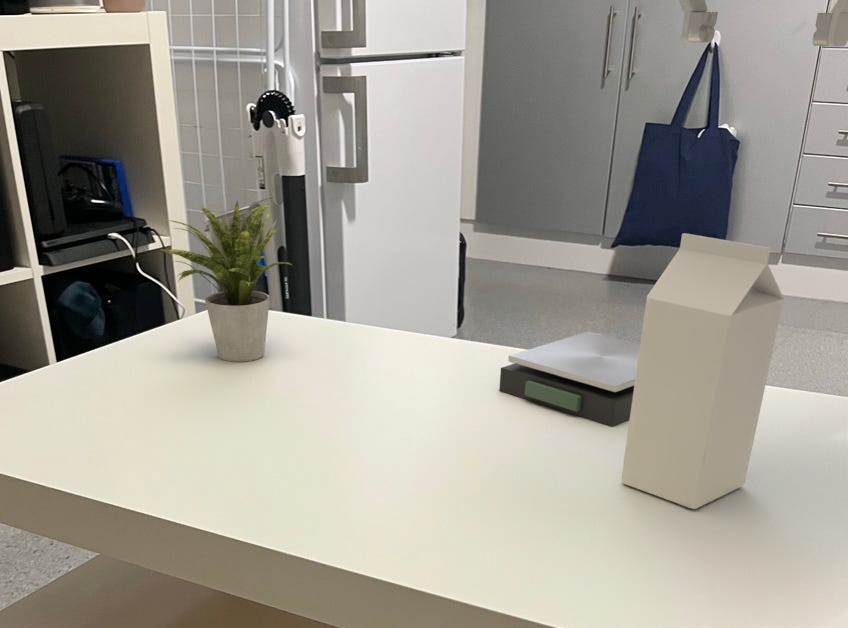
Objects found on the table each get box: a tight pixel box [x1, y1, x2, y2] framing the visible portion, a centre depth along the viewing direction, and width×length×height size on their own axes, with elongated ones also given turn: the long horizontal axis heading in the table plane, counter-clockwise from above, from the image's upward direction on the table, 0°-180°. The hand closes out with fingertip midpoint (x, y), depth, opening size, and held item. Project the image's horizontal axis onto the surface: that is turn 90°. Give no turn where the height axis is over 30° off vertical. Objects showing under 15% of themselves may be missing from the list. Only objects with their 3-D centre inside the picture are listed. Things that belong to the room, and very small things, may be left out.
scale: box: [498, 363, 634, 427], centre depth 102 cm, size 15×14×2 cm
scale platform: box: [507, 330, 640, 392], centre depth 101 cm, size 13×13×1 cm
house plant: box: [159, 200, 294, 363], centre depth 111 cm, size 14×14×16 cm
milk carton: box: [620, 232, 785, 510], centre depth 78 cm, size 7×7×19 cm
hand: (759, 44), depth 66 cm, fingers open, 8 cm apart
